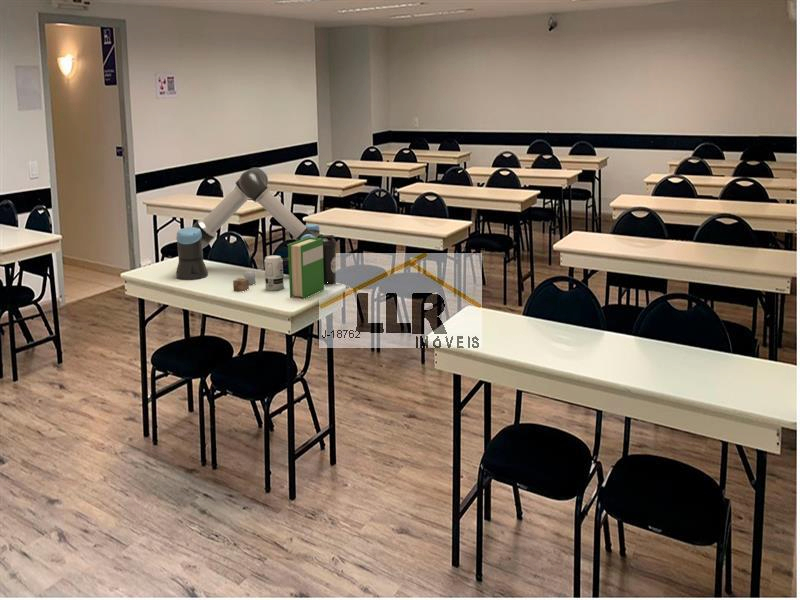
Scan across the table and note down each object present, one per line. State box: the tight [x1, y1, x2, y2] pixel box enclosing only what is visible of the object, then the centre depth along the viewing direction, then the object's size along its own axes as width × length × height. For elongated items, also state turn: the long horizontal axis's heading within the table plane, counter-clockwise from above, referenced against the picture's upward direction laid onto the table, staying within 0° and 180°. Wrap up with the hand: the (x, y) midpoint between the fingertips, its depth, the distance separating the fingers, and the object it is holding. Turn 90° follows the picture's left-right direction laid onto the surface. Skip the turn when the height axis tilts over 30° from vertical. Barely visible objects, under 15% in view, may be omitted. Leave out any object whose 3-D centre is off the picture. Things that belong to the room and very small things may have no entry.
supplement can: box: [264, 254, 285, 291], centre depth 343 cm, size 8×8×15 cm
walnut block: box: [232, 277, 250, 292], centre depth 341 cm, size 5×5×5 cm
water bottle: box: [317, 234, 338, 286], centre depth 352 cm, size 10×10×23 cm
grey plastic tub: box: [243, 270, 257, 286], centre depth 352 cm, size 5×5×6 cm
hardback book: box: [287, 237, 325, 299], centre depth 333 cm, size 18×7×24 cm, turn 156°
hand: (283, 268), depth 350 cm, fingers open, 13 cm apart
